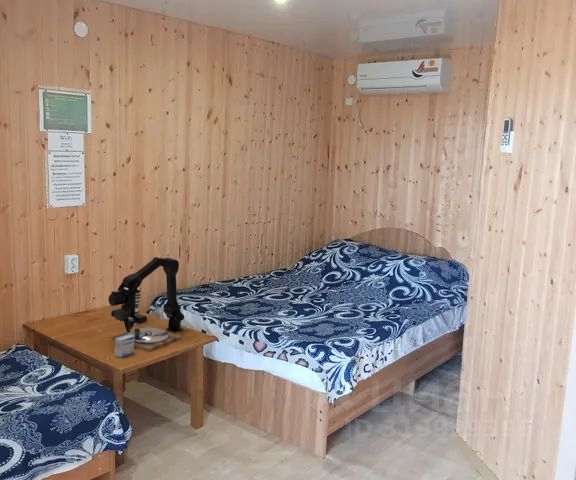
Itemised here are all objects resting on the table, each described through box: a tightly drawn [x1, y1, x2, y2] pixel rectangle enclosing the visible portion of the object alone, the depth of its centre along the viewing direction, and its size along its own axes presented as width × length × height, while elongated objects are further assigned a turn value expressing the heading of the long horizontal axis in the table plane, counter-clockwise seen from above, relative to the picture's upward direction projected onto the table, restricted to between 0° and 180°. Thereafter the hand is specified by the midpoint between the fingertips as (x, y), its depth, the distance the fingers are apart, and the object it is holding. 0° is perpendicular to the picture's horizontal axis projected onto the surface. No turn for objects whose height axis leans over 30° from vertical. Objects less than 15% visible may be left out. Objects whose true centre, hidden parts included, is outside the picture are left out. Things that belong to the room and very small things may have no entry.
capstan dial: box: [128, 327, 168, 343], centre depth 289 cm, size 20×20×6 cm
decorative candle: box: [122, 285, 142, 326], centre depth 309 cm, size 9×9×25 cm
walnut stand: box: [112, 325, 183, 353], centre depth 289 cm, size 24×24×2 cm
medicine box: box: [114, 335, 135, 359], centre depth 267 cm, size 8×4×9 cm, turn 148°
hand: (128, 332), depth 284 cm, fingers closed
